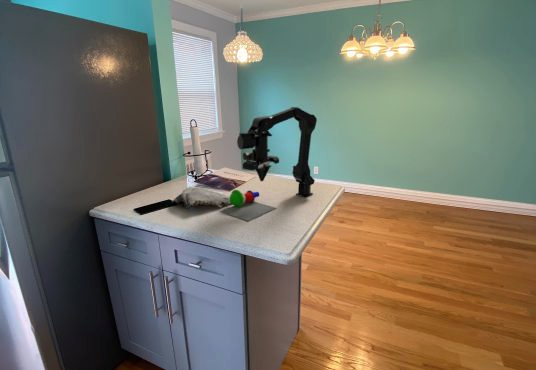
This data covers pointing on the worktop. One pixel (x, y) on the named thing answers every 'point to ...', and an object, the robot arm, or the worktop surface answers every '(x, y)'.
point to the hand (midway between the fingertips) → (261, 181)
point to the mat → (248, 210)
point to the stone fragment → (202, 197)
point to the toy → (242, 197)
